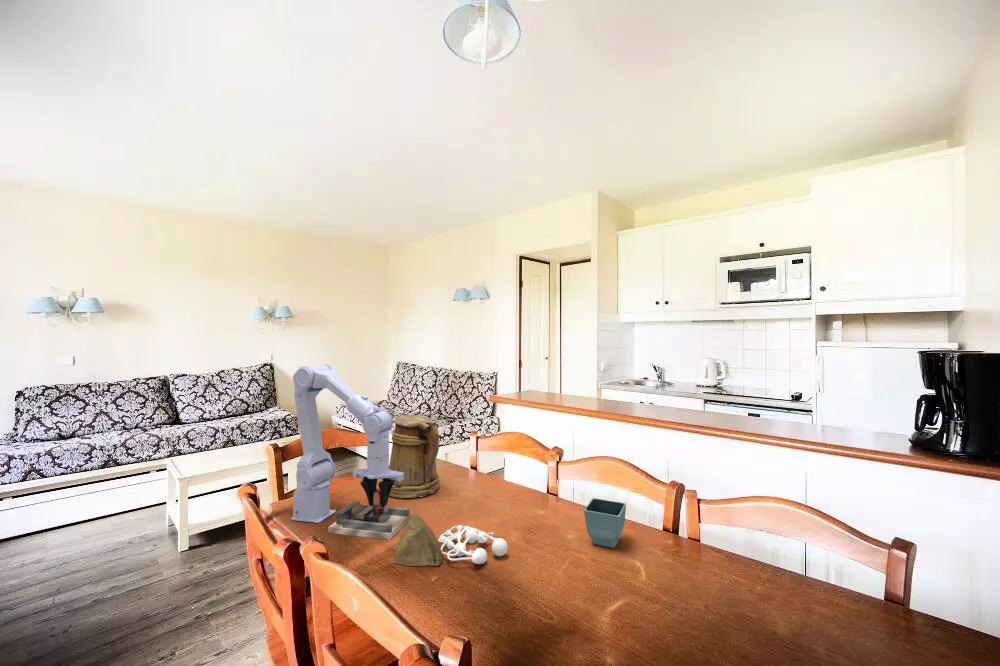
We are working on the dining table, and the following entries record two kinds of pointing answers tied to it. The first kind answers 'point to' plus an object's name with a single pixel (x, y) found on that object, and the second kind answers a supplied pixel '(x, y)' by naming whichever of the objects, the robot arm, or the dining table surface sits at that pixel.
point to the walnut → (357, 510)
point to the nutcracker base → (369, 523)
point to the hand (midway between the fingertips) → (378, 505)
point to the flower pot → (605, 521)
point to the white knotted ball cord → (471, 536)
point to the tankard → (415, 456)
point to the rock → (418, 545)
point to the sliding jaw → (374, 510)
